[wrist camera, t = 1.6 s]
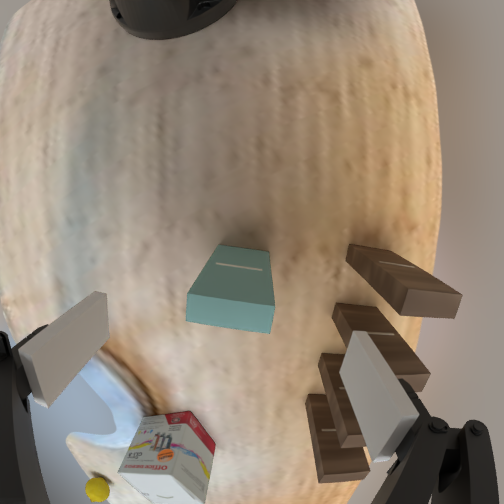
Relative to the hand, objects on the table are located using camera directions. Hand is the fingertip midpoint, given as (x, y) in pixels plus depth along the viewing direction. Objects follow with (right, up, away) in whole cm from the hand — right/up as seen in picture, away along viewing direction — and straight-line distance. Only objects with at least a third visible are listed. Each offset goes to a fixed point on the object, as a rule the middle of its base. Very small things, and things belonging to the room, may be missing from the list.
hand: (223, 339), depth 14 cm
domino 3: (+11, -15, +19) cm, 26 cm away
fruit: (-32, -46, +28) cm, 63 cm away
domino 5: (+13, -2, +16) cm, 21 cm away
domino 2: (+12, -9, +17) cm, 23 cm away
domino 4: (+14, +4, +14) cm, 20 cm away
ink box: (-9, -22, +22) cm, 32 cm away
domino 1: (0, +4, +15) cm, 15 cm away
